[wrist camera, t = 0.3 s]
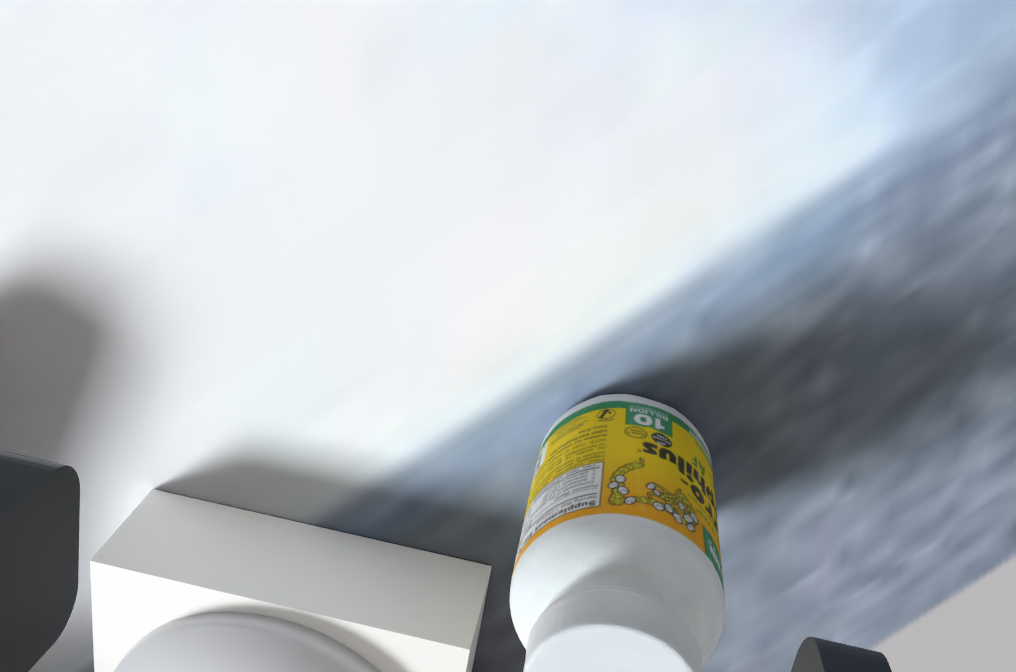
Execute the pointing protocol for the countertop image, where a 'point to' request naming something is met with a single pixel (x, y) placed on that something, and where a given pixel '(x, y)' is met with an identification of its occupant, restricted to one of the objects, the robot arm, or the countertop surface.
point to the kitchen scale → (275, 597)
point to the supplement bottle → (620, 544)
